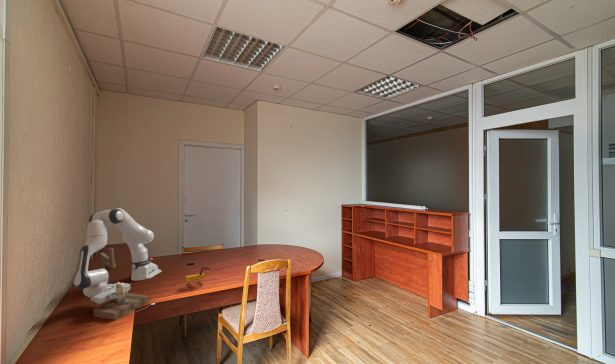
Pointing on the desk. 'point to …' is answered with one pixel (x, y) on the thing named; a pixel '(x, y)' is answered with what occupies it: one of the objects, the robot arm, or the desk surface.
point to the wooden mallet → (105, 260)
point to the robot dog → (195, 277)
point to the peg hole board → (120, 307)
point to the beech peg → (120, 295)
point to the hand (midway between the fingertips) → (122, 294)
